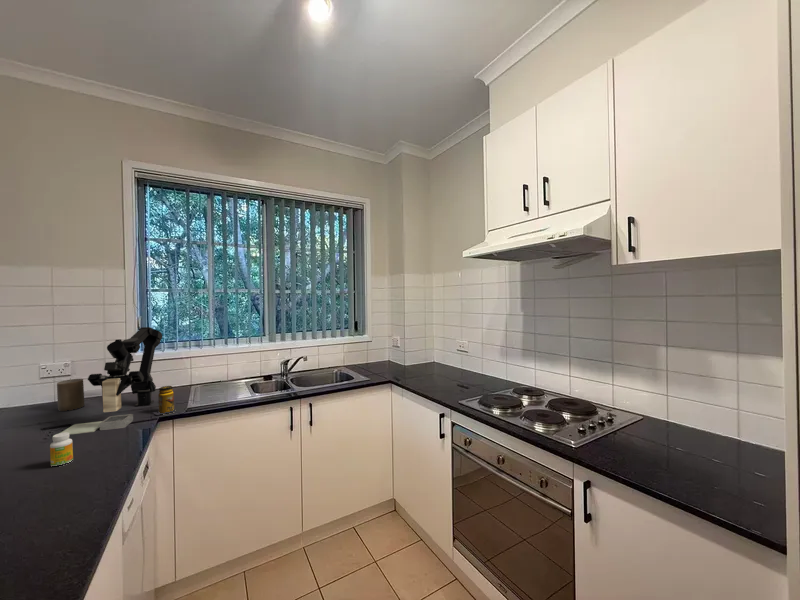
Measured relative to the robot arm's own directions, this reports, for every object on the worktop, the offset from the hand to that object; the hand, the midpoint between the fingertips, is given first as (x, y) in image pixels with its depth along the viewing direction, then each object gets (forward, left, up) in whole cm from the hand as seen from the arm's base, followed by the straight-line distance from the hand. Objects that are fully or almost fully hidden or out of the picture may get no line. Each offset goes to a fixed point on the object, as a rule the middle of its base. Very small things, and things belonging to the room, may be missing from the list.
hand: (110, 395), depth 146 cm
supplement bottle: (+32, -1, -14) cm, 35 cm away
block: (-1, 0, -7) cm, 7 cm away
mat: (-3, -11, -13) cm, 17 cm away
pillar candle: (-38, -32, -14) cm, 51 cm away
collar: (-2, +1, -13) cm, 14 cm away
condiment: (-14, +15, -14) cm, 25 cm away
